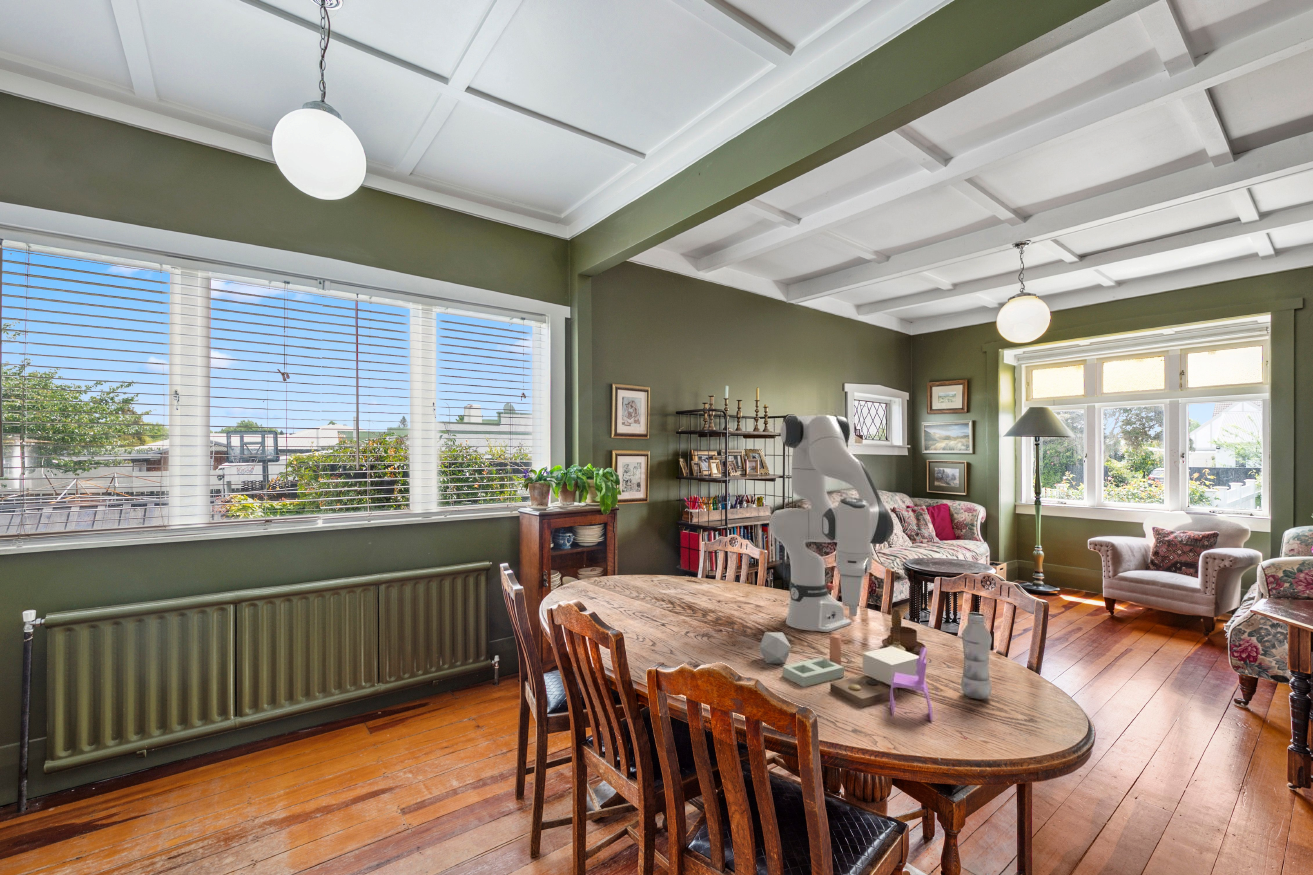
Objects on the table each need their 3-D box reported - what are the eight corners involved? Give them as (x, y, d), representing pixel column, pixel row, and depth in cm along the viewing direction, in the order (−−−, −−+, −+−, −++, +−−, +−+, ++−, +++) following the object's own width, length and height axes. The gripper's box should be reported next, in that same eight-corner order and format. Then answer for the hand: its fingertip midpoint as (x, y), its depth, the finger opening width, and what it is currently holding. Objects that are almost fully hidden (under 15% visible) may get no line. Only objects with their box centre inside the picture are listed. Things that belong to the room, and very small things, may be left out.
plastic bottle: (954, 694, 144) (954, 612, 144) (974, 689, 146) (974, 609, 147) (978, 705, 138) (978, 619, 138) (998, 700, 140) (998, 616, 141)
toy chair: (891, 701, 139) (892, 638, 140) (932, 709, 136) (932, 644, 136) (889, 716, 132) (889, 649, 132) (932, 724, 128) (932, 655, 128)
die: (783, 672, 158) (799, 640, 161) (755, 654, 160) (772, 623, 163) (777, 672, 166) (792, 641, 169) (750, 655, 168) (766, 625, 171)
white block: (891, 665, 155) (892, 646, 155) (921, 677, 147) (921, 657, 147) (862, 672, 149) (862, 653, 150) (892, 685, 142) (892, 664, 142)
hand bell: (875, 667, 161) (876, 609, 161) (887, 659, 167) (887, 603, 167) (906, 675, 155) (907, 615, 155) (917, 667, 161) (918, 609, 161)
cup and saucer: (914, 661, 166) (914, 639, 166) (874, 649, 175) (874, 629, 175) (932, 651, 174) (932, 630, 174) (893, 640, 183) (893, 621, 183)
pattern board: (864, 682, 151) (864, 672, 151) (897, 697, 142) (897, 687, 142) (830, 691, 145) (830, 681, 145) (862, 707, 136) (862, 697, 136)
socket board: (821, 666, 161) (821, 657, 161) (844, 676, 154) (844, 667, 154) (782, 675, 154) (782, 666, 154) (803, 687, 147) (803, 677, 147)
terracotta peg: (835, 662, 164) (835, 633, 164) (843, 666, 161) (843, 636, 161) (827, 664, 163) (827, 635, 163) (835, 668, 160) (835, 638, 160)
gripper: (844, 552, 163) (844, 602, 163) (836, 569, 144) (836, 625, 144) (868, 554, 160) (868, 604, 160) (864, 571, 141) (863, 628, 141)
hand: (853, 614), depth 152 cm, fingers closed
